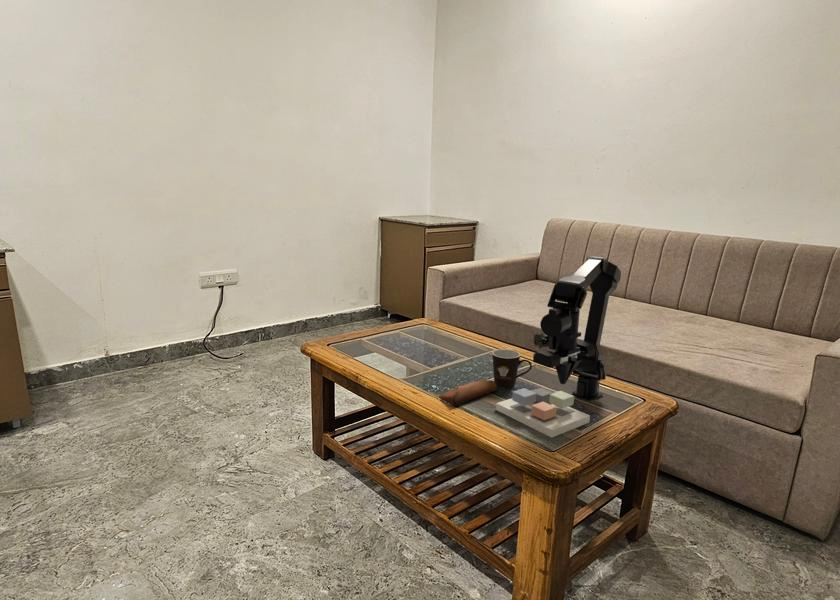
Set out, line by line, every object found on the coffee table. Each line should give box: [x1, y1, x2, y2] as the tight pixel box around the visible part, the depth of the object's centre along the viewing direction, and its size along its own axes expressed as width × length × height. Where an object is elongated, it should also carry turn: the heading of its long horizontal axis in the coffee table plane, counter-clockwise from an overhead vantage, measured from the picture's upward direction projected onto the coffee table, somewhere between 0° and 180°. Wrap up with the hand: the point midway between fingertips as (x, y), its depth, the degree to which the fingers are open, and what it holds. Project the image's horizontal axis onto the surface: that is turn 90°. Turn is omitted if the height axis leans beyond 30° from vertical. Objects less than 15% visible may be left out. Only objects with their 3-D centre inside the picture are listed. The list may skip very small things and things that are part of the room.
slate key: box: [511, 387, 536, 406], centre depth 150 cm, size 4×4×2 cm
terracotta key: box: [531, 402, 556, 420], centre depth 145 cm, size 4×4×2 cm
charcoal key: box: [531, 387, 554, 403], centre depth 155 cm, size 4×4×2 cm
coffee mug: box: [491, 348, 533, 389], centre depth 171 cm, size 12×9×10 cm
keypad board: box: [495, 398, 591, 439], centre depth 151 cm, size 15×20×2 cm
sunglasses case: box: [438, 379, 498, 407], centre depth 163 cm, size 18×7×7 cm, turn 131°
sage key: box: [549, 390, 575, 409], centre depth 149 cm, size 4×4×2 cm
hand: (562, 383), depth 148 cm, fingers closed
